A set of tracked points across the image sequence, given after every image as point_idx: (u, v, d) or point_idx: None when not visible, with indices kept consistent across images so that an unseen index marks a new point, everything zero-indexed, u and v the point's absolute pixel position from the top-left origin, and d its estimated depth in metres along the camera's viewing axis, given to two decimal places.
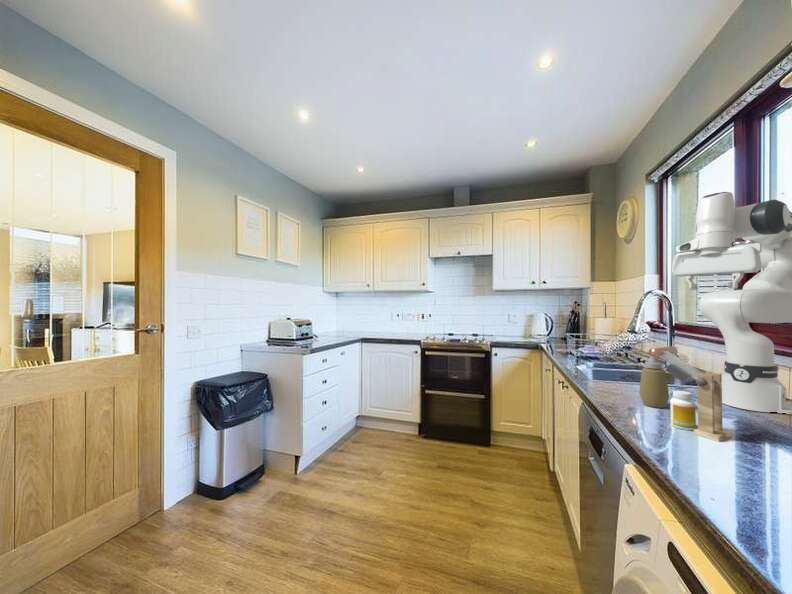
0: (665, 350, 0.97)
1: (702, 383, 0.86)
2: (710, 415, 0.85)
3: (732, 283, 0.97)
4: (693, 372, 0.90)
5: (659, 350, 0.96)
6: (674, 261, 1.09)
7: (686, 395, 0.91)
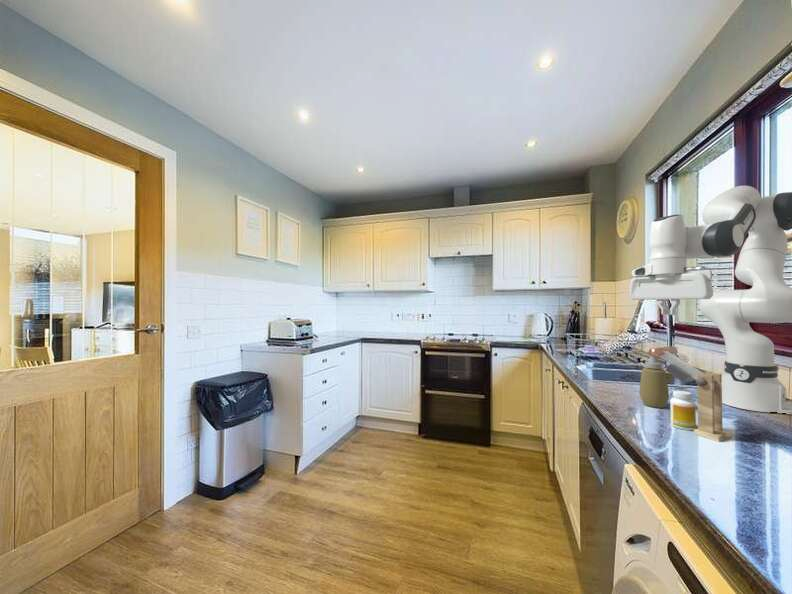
0: (665, 350, 0.97)
1: (702, 383, 0.86)
2: (710, 415, 0.85)
3: (670, 310, 0.99)
4: (693, 372, 0.90)
5: (659, 350, 0.96)
6: (631, 284, 1.07)
7: (686, 395, 0.91)
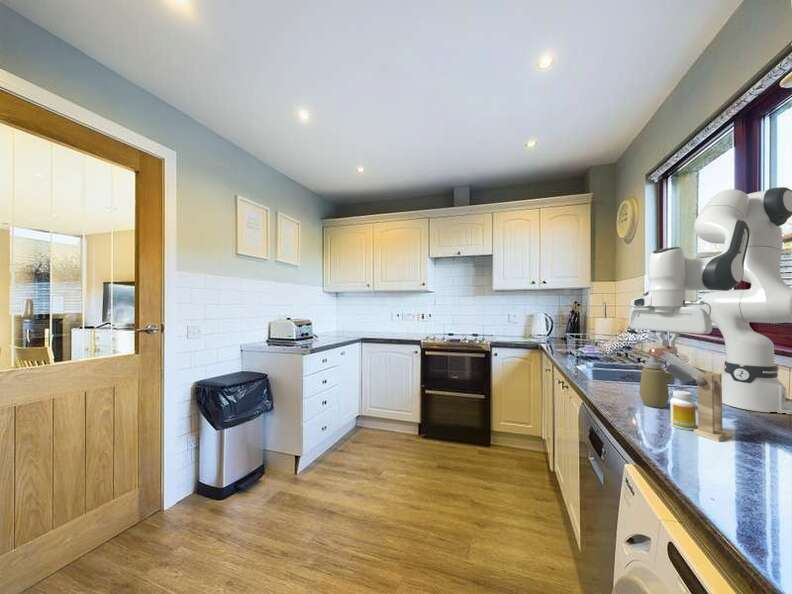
0: (664, 350, 0.97)
1: (702, 383, 0.86)
2: (710, 415, 0.85)
3: (669, 342, 0.99)
4: (693, 372, 0.90)
5: (659, 350, 0.96)
6: (630, 314, 1.07)
7: (686, 395, 0.91)
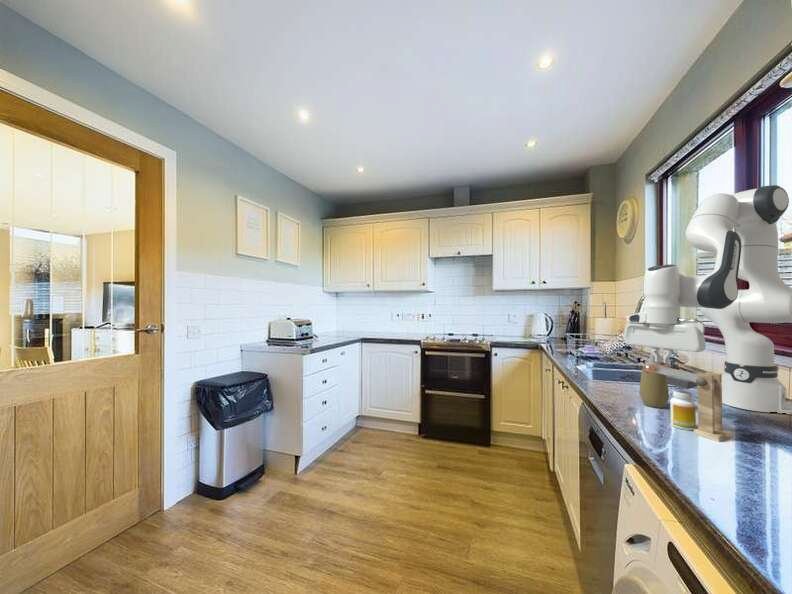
0: (657, 365, 0.99)
1: (702, 383, 0.86)
2: (710, 415, 0.85)
3: (663, 359, 1.00)
4: (690, 376, 0.90)
5: (652, 365, 0.98)
6: (625, 330, 1.09)
7: (686, 395, 0.91)
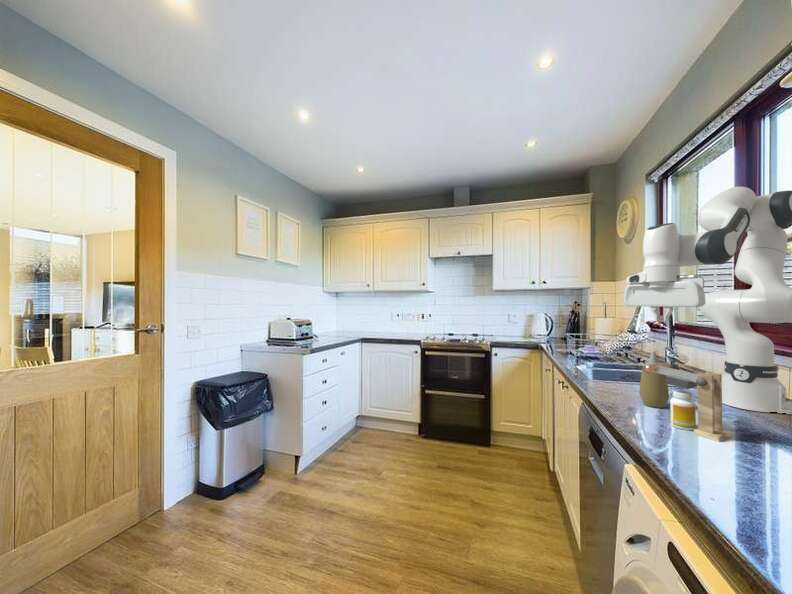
0: (657, 365, 0.99)
1: (702, 383, 0.86)
2: (710, 415, 0.85)
3: (663, 317, 1.00)
4: (690, 376, 0.90)
5: (652, 365, 0.98)
6: (625, 291, 1.09)
7: (686, 395, 0.91)
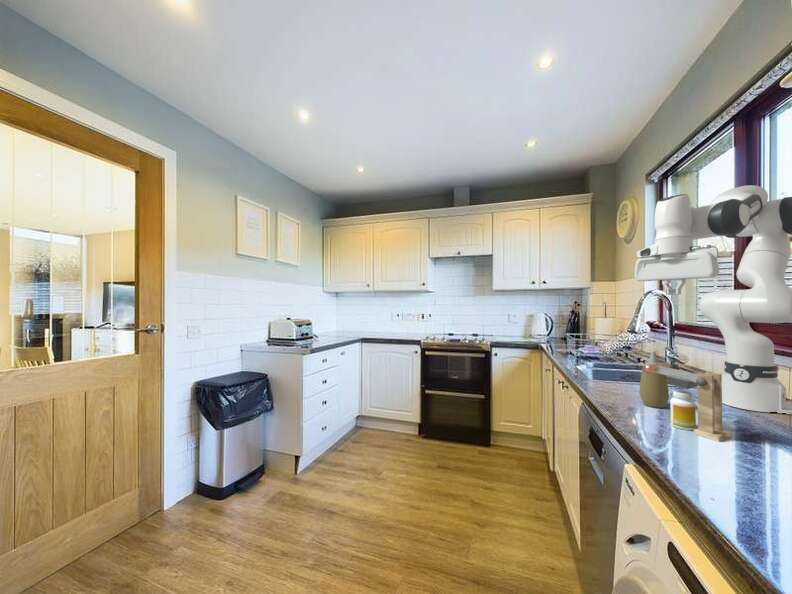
0: (657, 365, 0.99)
1: (702, 383, 0.86)
2: (710, 415, 0.85)
3: (675, 290, 0.99)
4: (690, 376, 0.90)
5: (652, 365, 0.98)
6: (636, 266, 1.07)
7: (686, 395, 0.91)
